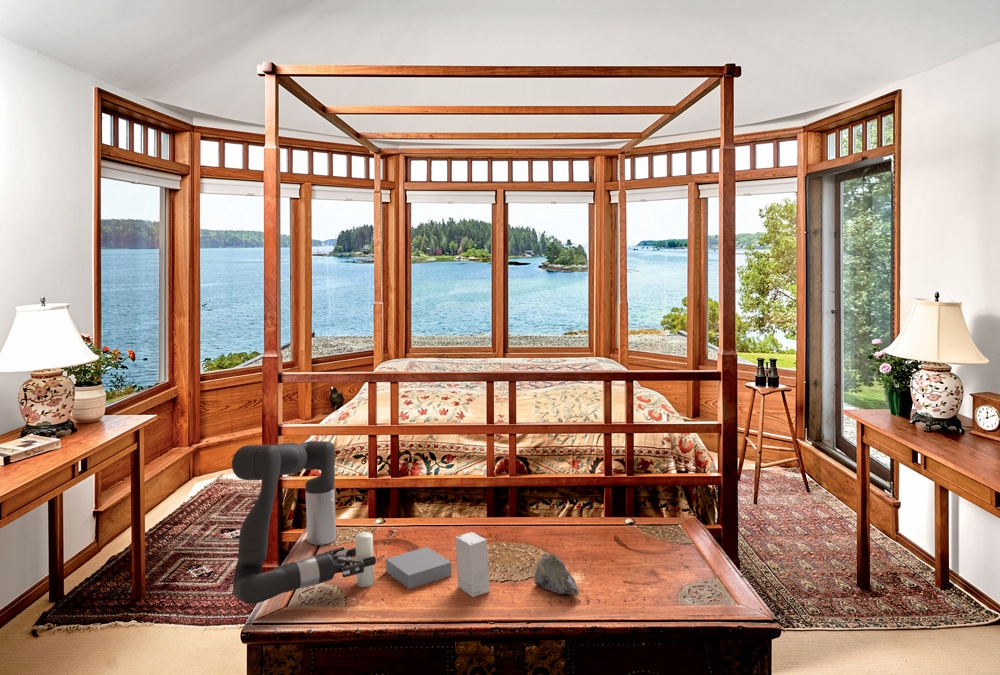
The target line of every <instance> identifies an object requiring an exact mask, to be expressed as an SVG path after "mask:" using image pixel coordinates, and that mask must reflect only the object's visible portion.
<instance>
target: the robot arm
mask: <svg viewBox="0 0 1000 675" xmlns="http://www.w3.org/2000/svg"><path fill="white" fill-rule="evenodd" d="M335 462H336V452H335V446H334V444H333V443H332V442H331V441H326V440H325V441H323V440H322V441H318V440H316V441H315V440H314V441H313V440H312V441H311V440H309V441H305V442H302V443H297V442H284V443H278V444H248V445H247V444H246V445H243V446H242V447H240V448H238V450H237V451H236V452H235V453H234V455H233V456H232V460H231V468H232V469H231V470H232V472H233V474H234V475H235V476H236V477H237V478H238V479H240V480H243V481H261V484H260V485H261V487H260V491H259V494H258V497H257V498H256V501H255V503H254V504H253V505H252V507H251V509H250V511H249V512H248V514H247V515H246V517H245V518H244V520H243V522H242V525H241V527H240V531H239V539H238V552H237V553H238V554H237V556H238V557H237V560H236V561H237V562H236V566H235V569H234V570H235V571H234V573H233V580H232V591H233V595H234V597H235V598H236V599H238V601H241V602H242V603H245V604H246V605H255V604H260V603H263V602H265V601H268V600H270V599H272V598H275V597H277V596H279V595H281V594H284V593H288V592H292V591H296V590H298V589H304V588H310V587H312V586H316V585H319V584H320V585H321V584H323V583H327V582H329V581H331V580H333V579H334V577H335V575H336V574H340V573H342V574H341V575H342V578H348V577H351V576H354V575H356V574H359V573H363V572H364V567H368V566H371V565H373V566H374V565H376V563H377V562H376V560H377V559H376V556H374V555H373V556H372V557H368V558H365V559H362V560H356V547H353V548H350V549H349V548H345V547H344V546H341V547H339V548H333V549H331V550H328V551H324V552H322V553H317V554H313V555H311V556H306V557H304V558H303V557H302V558H300V559H298V560H295V561H292V562H289V563H288V562H287V563H284V564H281V565H278V566H276V567H274V568H273V569H272V570H269V571H268V570H267V571H264V572H262V571H263V570H262V569H263V562H265V560H267V555H268V544H269V530H270V529H269V528H270V521H271V515H272V511H273V506H274V501H275V496H276V491H277V487H278V482H279V476H287V475H288V476H289V475H293V474H296V473H299V472H300V471H302V470H303V469H304V470H312V471H313V470H314V471H316V470H317V471H320V472H321V473H320V475H318V476H316V477H313V478H310V479H308V480H307V481H306V482H305V485H304V486H305V487H304V490H305V509H306V510H305V512H306V514H305V516H306V536H307V537H306V538H307V543H308V544H309V543H310V544H309V545H312V544H314V545H313V546H323V545H328V544H330V543H333V542H335V541H336V539H337V529H336V528H337V526H336V525H337V524H336V523H337V522H336V520H337V519H336V499H335V498H336V496H335V495H336V494H335V479H336V478H335V476H336V474H335V473H336V472H335V471H336V470H335V469H336V468H335V467H336V466H335V465H336V463H335ZM356 563H357V564H356ZM356 570H357V571H356Z"/></svg>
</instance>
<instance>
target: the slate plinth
mask: <svg viewBox="0 0 1000 675" xmlns="http://www.w3.org/2000/svg"><path fill="white" fill-rule="evenodd" d="M385 572H386V573H387V574H388V575H390V577H392V578H393V579H395V580H396V581H398V582H399V583H400V584H401V585H403V586H404V587H405V588H406V589H407V590H411V589H414V588H415V589H416V588H418V587H421V586H423V585H427V584H430V583H433V582H435V581H438V580H442V579H446V578H448V577H451V576H452V575H453V574H452V561H450V560H448V559H447V558H446V557H444V556H442V555H441V554H440V553H438V552H436V551H434V550H433V549H431V548H430V547H429V546H425V547H422V548H418V549H415V550H412V551H408V552H404V553H401V554H397V555H393V556H390V557H386V558H385Z"/></svg>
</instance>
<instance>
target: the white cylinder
mask: <svg viewBox="0 0 1000 675" xmlns="http://www.w3.org/2000/svg"><path fill="white" fill-rule="evenodd" d="M354 537H355V539H354V540H355V548H356V556H355V559H356V560H362V559H365V558H368V557H372V556H374V539H373V538H374V535H373V533H372V532H367V531H363V532H358V533H357V534H355V536H354ZM355 564H357V563H355ZM374 567H375V566H374V565H371V566H368V567H364V572H363V573H359V574H356V577H355V578H356V586H358V587H360V588H368V587H371V586H372V585H374V583H375V582H374V580H375V577H374V576H375V574H374V572H375V571H374V569H375V568H374ZM356 571H357V570H356Z"/></svg>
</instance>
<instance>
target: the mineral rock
mask: <svg viewBox="0 0 1000 675" xmlns="http://www.w3.org/2000/svg"><path fill="white" fill-rule="evenodd" d="M533 582H534V585H536V586H539V587H542V588H543V589H545V590H549V591H551V592H553V593H557V594H558V595H562V594H566V595H575V596H578V595H579V594H580V592H579V588H578V586H577V583H576V580H575V578H574V577H573V576H572V575H571V573H570V572H569V570H567V568H566V565H565V564H564V562H563V560H562V559H561V558H560V557H558V556H557V554H550V553H548V552H544V553H543V554H542V555H541V558H540V559H539V560H538V563H537V565H536V570H535V573H534V580H533Z"/></svg>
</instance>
